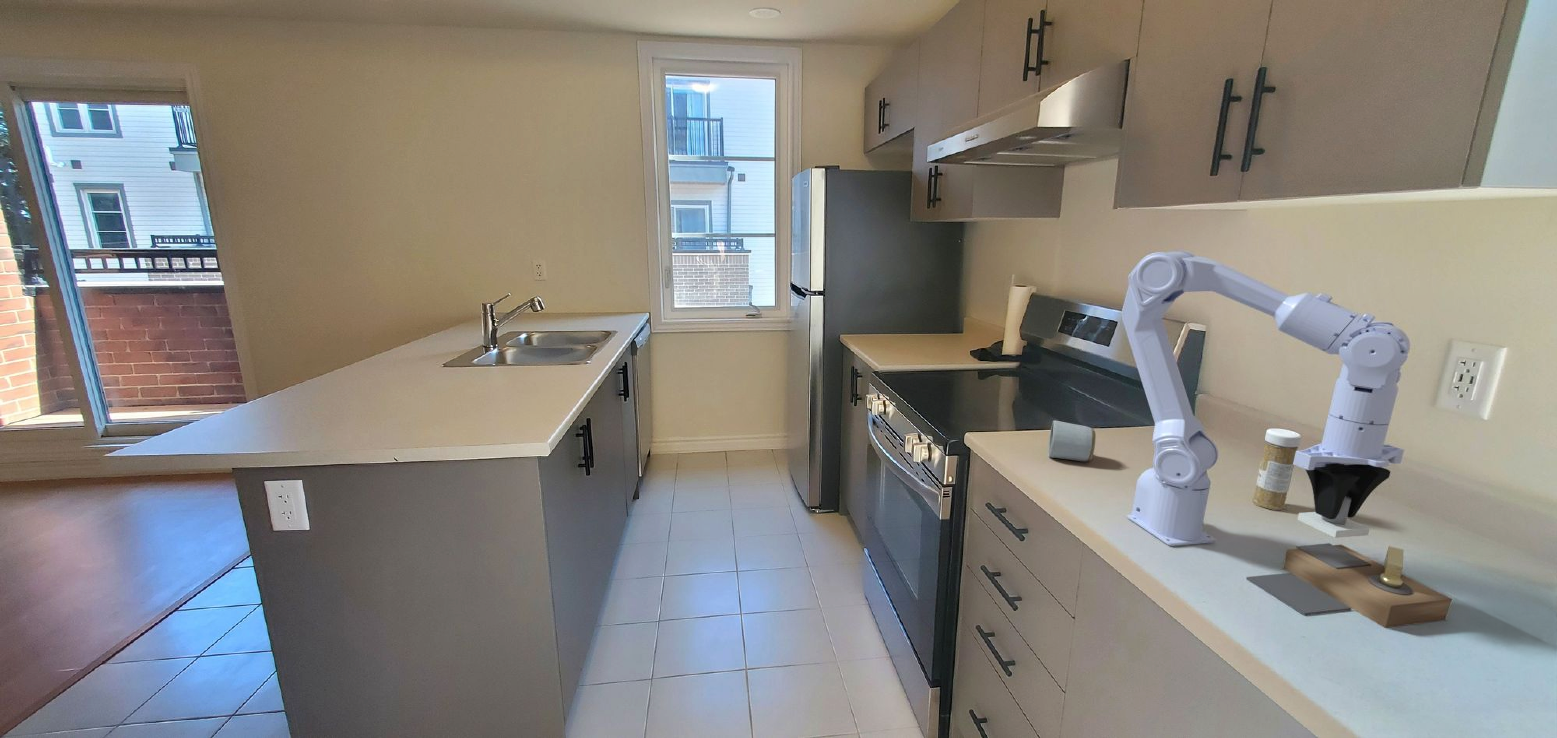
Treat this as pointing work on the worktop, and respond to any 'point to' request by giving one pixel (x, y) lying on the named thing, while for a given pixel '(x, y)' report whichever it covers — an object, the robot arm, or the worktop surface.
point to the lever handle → (1392, 568)
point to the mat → (1298, 594)
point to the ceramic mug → (1071, 441)
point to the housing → (1365, 585)
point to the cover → (1335, 522)
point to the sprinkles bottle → (1276, 468)
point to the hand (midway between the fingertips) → (1334, 515)
